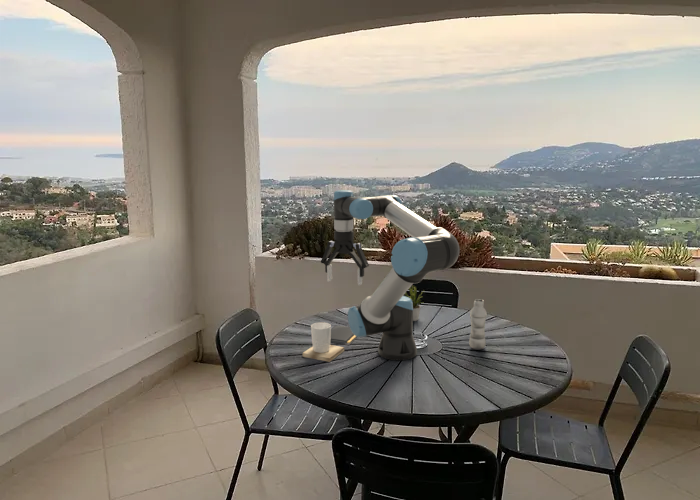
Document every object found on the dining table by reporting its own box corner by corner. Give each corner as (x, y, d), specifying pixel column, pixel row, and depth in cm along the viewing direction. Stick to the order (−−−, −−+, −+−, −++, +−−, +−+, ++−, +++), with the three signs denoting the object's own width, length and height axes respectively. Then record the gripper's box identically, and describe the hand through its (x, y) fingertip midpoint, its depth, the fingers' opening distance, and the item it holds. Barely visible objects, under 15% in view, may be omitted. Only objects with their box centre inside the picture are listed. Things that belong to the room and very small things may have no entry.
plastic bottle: (488, 348, 214) (490, 300, 210) (480, 353, 209) (481, 304, 205) (474, 344, 219) (476, 297, 214) (465, 348, 214) (467, 300, 210)
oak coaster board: (344, 350, 213) (344, 347, 213) (329, 361, 203) (329, 358, 202) (318, 345, 219) (318, 342, 218) (302, 356, 208) (302, 352, 208)
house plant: (391, 315, 255) (391, 282, 252) (417, 312, 259) (418, 279, 256) (402, 325, 242) (403, 290, 238) (430, 321, 246) (431, 287, 243)
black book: (335, 323, 242) (366, 327, 236) (335, 327, 242) (366, 331, 236) (315, 338, 224) (348, 343, 218) (315, 342, 224) (348, 347, 218)
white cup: (328, 354, 206) (328, 329, 204) (309, 352, 208) (308, 328, 206) (333, 346, 214) (333, 322, 212) (314, 345, 215) (313, 321, 213)
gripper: (376, 230, 206) (377, 283, 211) (321, 226, 217) (322, 277, 222) (368, 233, 200) (369, 288, 204) (311, 229, 211) (312, 281, 215)
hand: (344, 282), depth 213 cm, fingers open, 13 cm apart
